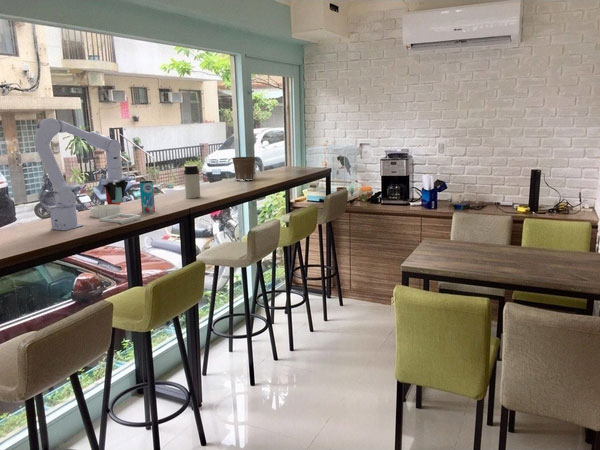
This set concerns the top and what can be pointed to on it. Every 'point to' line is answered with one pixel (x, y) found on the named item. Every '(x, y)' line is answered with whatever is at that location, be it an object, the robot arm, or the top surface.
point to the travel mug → (192, 181)
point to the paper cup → (110, 199)
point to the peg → (118, 195)
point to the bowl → (105, 210)
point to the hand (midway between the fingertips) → (117, 199)
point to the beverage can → (147, 196)
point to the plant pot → (244, 167)
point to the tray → (123, 221)
